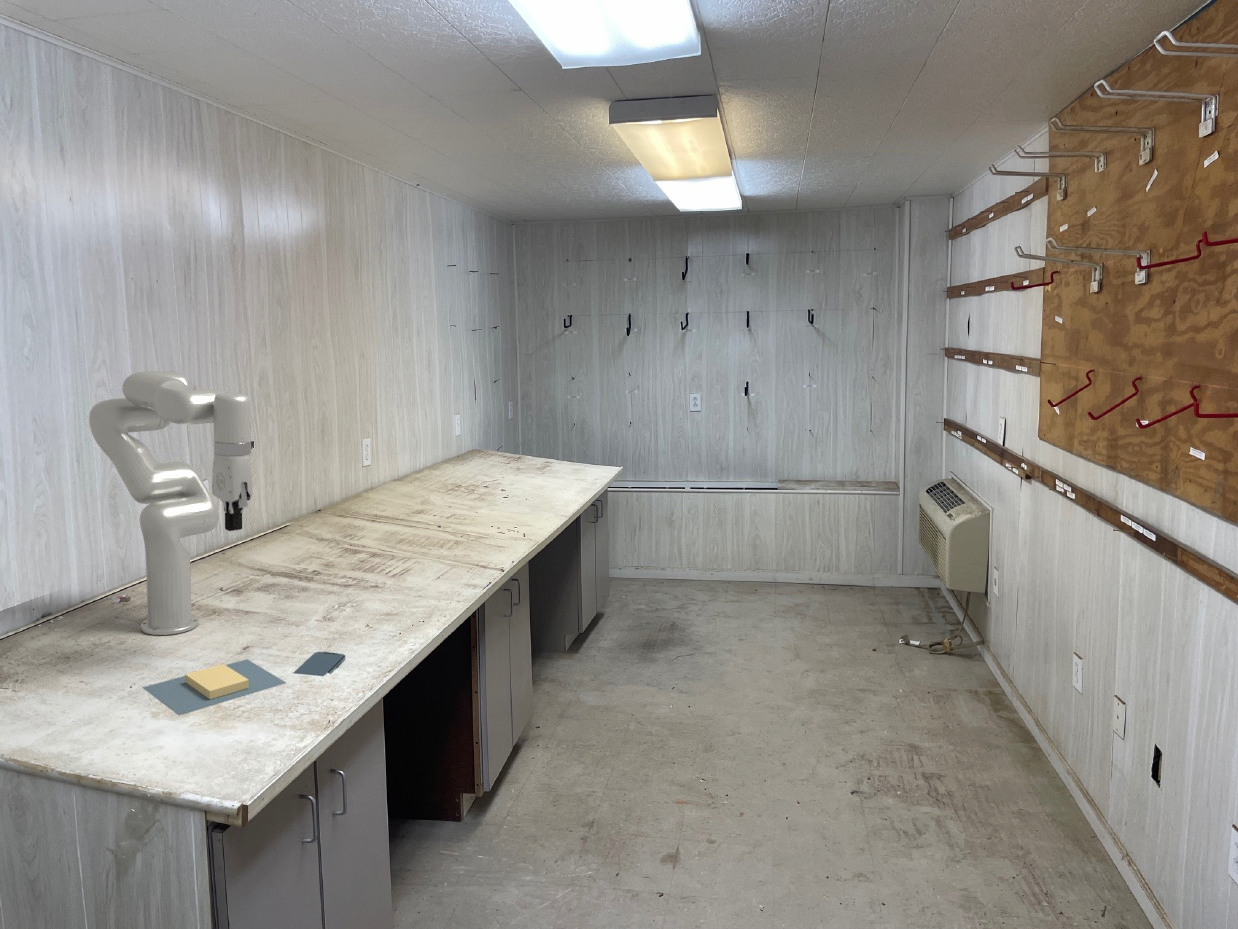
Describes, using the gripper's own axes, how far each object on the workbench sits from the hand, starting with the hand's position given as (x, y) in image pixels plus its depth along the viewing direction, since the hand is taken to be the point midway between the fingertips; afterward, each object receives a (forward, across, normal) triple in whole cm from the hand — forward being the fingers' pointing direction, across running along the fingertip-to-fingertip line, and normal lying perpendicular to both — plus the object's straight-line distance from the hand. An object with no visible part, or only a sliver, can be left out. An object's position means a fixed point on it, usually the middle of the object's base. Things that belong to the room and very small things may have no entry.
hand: (233, 529), depth 191 cm
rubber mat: (+29, +16, -12) cm, 35 cm away
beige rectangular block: (+27, +11, -12) cm, 32 cm away
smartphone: (+30, +21, +8) cm, 37 cm away
